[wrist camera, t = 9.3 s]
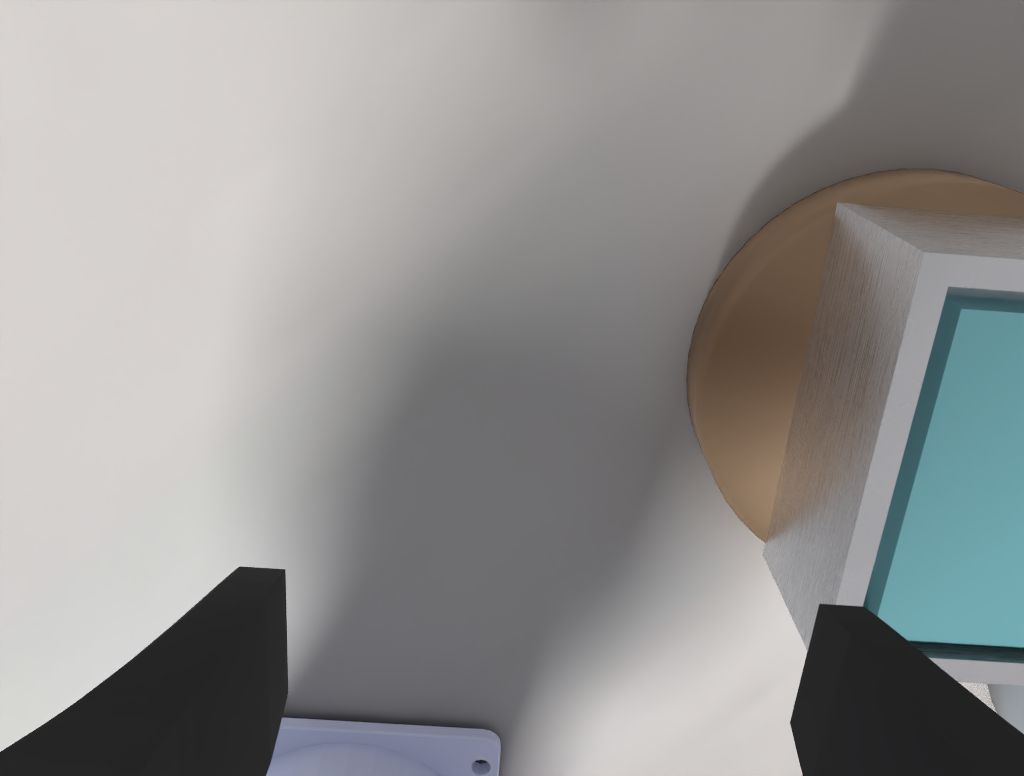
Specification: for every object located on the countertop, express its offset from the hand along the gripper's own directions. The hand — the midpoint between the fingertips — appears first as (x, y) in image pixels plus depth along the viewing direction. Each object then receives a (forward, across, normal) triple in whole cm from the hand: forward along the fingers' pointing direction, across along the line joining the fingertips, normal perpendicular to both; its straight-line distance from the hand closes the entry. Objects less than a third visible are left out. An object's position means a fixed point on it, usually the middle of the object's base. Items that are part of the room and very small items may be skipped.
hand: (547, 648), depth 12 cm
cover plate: (+5, -8, -1) cm, 9 cm away
